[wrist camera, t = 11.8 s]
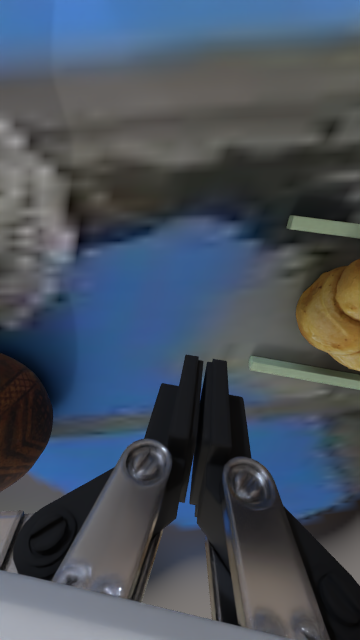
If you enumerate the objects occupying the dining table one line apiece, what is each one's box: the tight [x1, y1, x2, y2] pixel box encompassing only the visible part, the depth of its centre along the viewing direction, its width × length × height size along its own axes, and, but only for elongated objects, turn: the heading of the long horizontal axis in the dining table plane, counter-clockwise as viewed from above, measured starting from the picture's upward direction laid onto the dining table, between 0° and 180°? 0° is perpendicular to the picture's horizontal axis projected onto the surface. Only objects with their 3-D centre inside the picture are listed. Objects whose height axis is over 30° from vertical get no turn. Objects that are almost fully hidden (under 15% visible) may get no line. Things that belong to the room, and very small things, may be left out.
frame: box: [249, 215, 360, 390], centre depth 27 cm, size 17×17×2 cm
